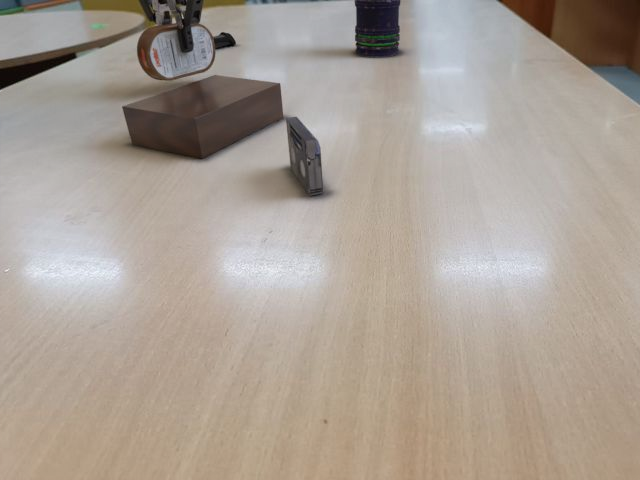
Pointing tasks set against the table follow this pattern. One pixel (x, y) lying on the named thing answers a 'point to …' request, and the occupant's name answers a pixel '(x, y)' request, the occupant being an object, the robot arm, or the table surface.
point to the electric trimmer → (224, 40)
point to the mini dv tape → (305, 156)
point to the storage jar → (377, 28)
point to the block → (203, 115)
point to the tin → (174, 52)
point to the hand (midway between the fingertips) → (179, 50)
